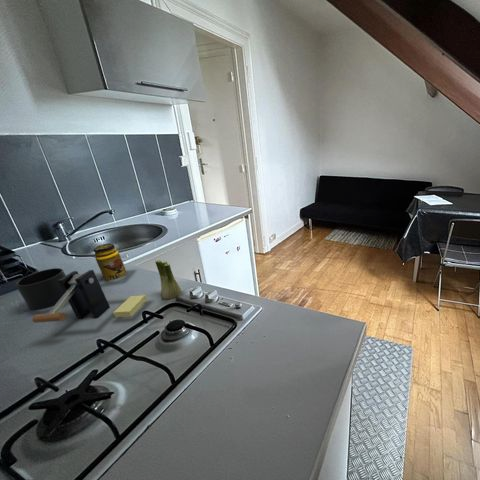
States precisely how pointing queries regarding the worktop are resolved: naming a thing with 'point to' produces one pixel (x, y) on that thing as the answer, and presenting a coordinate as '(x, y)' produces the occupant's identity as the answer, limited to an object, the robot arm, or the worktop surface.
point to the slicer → (86, 295)
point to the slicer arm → (59, 304)
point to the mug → (41, 288)
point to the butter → (130, 306)
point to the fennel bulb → (167, 281)
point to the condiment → (109, 262)
